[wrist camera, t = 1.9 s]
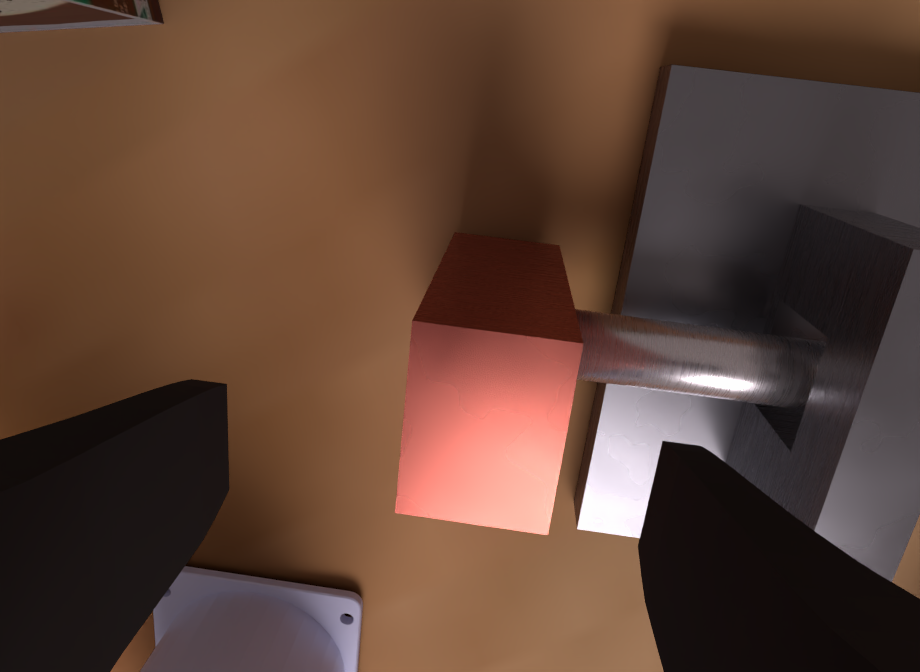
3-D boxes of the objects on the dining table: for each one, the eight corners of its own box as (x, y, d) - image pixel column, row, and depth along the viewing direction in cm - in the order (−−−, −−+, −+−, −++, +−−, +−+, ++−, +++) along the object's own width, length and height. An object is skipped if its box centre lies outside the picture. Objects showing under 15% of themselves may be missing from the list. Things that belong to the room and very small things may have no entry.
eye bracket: (573, 502, 23) (594, 664, 16) (660, 66, 18) (737, 51, 12) (869, 544, 23) (1010, 728, 16) (1038, 110, 18) (1341, 119, 11)
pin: (441, 360, 21) (395, 512, 13) (455, 232, 19) (412, 320, 12) (887, 420, 20) (1107, 616, 12) (935, 293, 19) (1214, 427, 11)
